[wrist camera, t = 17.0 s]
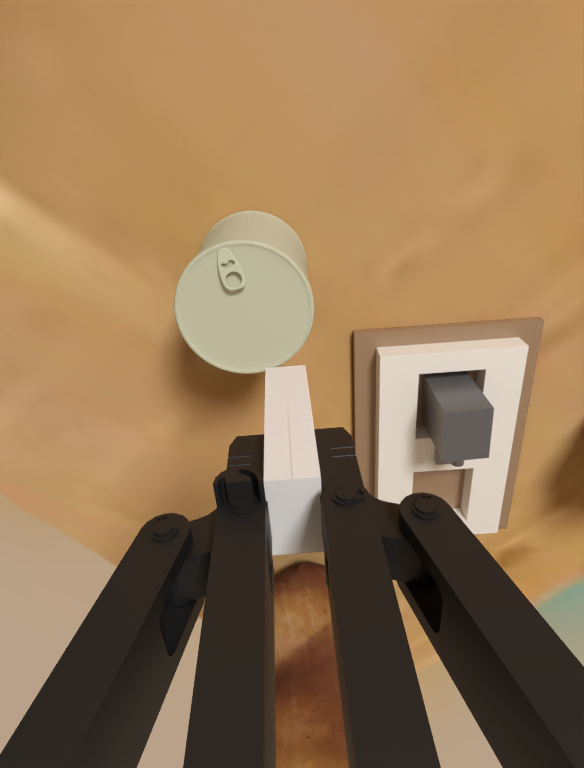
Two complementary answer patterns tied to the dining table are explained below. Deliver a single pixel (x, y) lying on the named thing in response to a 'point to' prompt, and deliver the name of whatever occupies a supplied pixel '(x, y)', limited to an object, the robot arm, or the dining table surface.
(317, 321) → the dining table surface
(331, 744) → the butternut squash
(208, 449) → the dining table surface
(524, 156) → the dining table surface
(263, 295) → the can
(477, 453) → the plug
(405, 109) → the dining table surface
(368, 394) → the socket board
